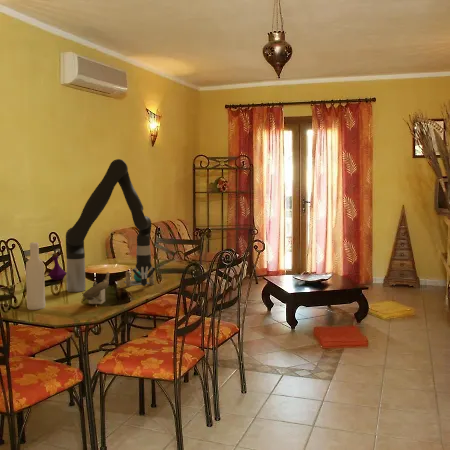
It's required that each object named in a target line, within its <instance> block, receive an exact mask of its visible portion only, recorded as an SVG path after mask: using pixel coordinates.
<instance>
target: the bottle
mask: <svg viewBox="0 0 450 450" xmlns="http://www.w3.org/2000/svg"><path fill="white" fill-rule="evenodd" d="M29 250H30V258H29V259H28V260H27V261H26V264H25V282H26V306H27V307H26V308H27V309H28V310H32V311H35V310H36V311H37V310H42V309H45V308H46V289H45V288H46V287H45V286H46V285H45V284H46V282H45V281H46V280H45V264H44V262H43V260H42V259H41V258H40V251H39V250H40V245H39V242H30V243H29Z"/></svg>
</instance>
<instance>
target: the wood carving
mask: <svg viewBox="0 0 450 450" xmlns="http://www.w3.org/2000/svg"><path fill="white" fill-rule="evenodd" d="M109 280H110V272H109V271H107V272H106V275H105V278H104V279H102V281H101V282H99V283H97V280H94V281H93V283H92V284H93V285H92V286H91V287H90V288H89V289H87V290H86V291H84V293H82V296H83V297H84V298H83V300H82V301H83V302H84V301H86V300H88V304H91V305H102V304H103V303H105V302H106V290H107V289H108V287H109V285H110V284H109V282H110V281H109Z"/></svg>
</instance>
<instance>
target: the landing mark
mask: <svg viewBox="0 0 450 450" xmlns="http://www.w3.org/2000/svg"><path fill="white" fill-rule="evenodd" d="M123 282H124V283H125V284H126V280H125V281H123ZM140 285H141V286H142V284H141V282H137V281H135V280H131V287H132V286H140ZM147 285H149V281H147Z"/></svg>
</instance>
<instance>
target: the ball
mask: <svg viewBox="0 0 450 450" xmlns="http://www.w3.org/2000/svg"><path fill="white" fill-rule="evenodd" d="M137 273H138V274H139V275H140V272H139V271H138V270H137ZM133 279H134V281H137V282H141V278H138V277H137V276H136V275H135V273H133Z"/></svg>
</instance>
